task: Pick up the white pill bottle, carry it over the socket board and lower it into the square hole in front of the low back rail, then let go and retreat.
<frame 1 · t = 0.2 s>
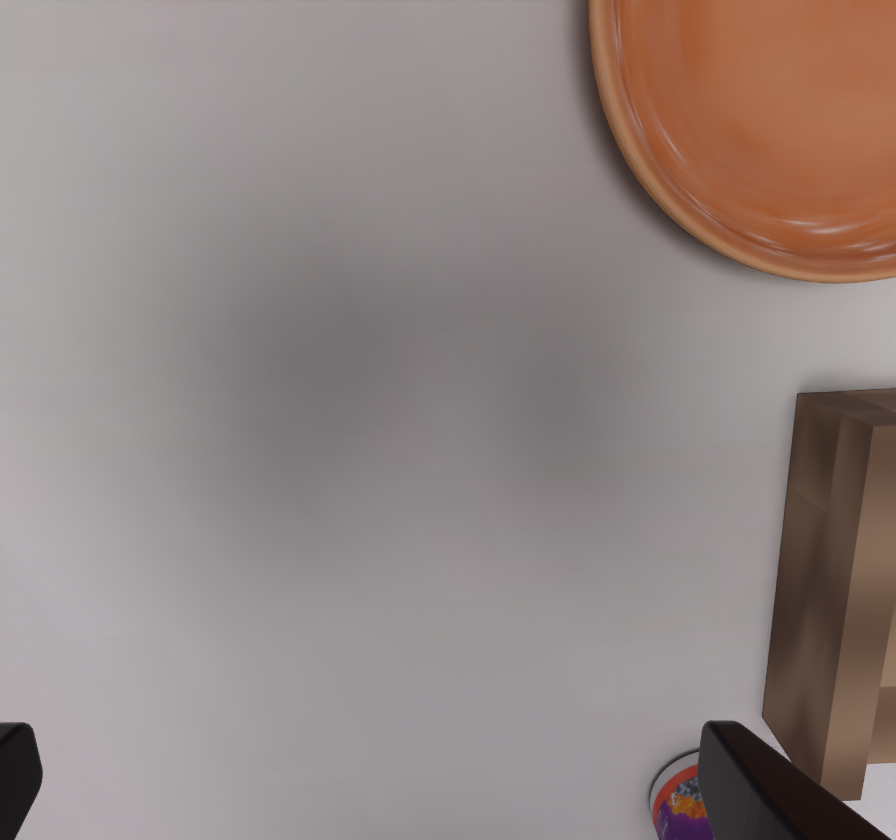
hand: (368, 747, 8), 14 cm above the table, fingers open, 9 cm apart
saucer: (830, 10, 19), on the table
pill bottle: (705, 789, 27), on the table
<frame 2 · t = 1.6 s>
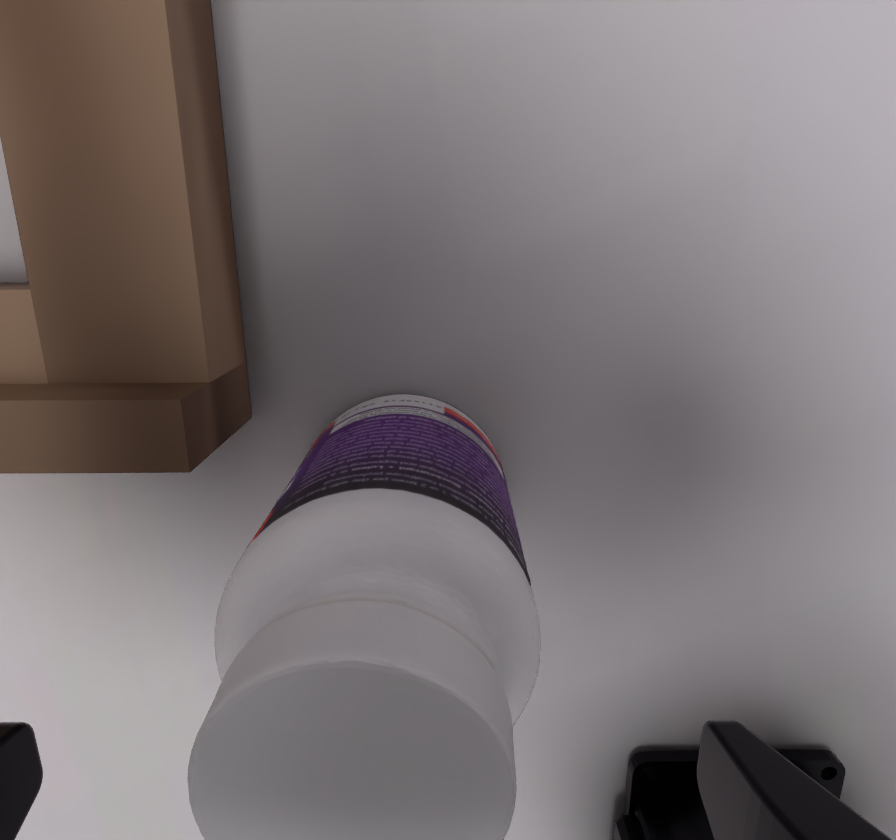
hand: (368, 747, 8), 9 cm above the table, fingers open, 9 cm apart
pill bottle: (405, 484, 17), on the table
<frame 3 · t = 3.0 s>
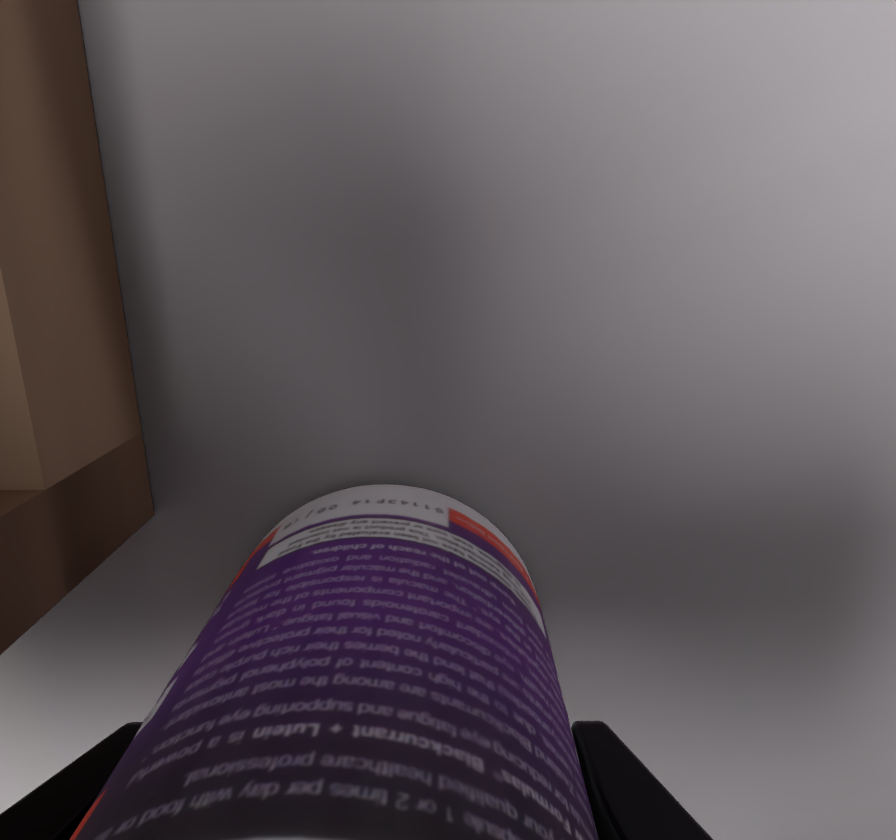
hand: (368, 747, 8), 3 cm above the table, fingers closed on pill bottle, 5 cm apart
pill bottle: (390, 608, 11), on the table, touching gripper
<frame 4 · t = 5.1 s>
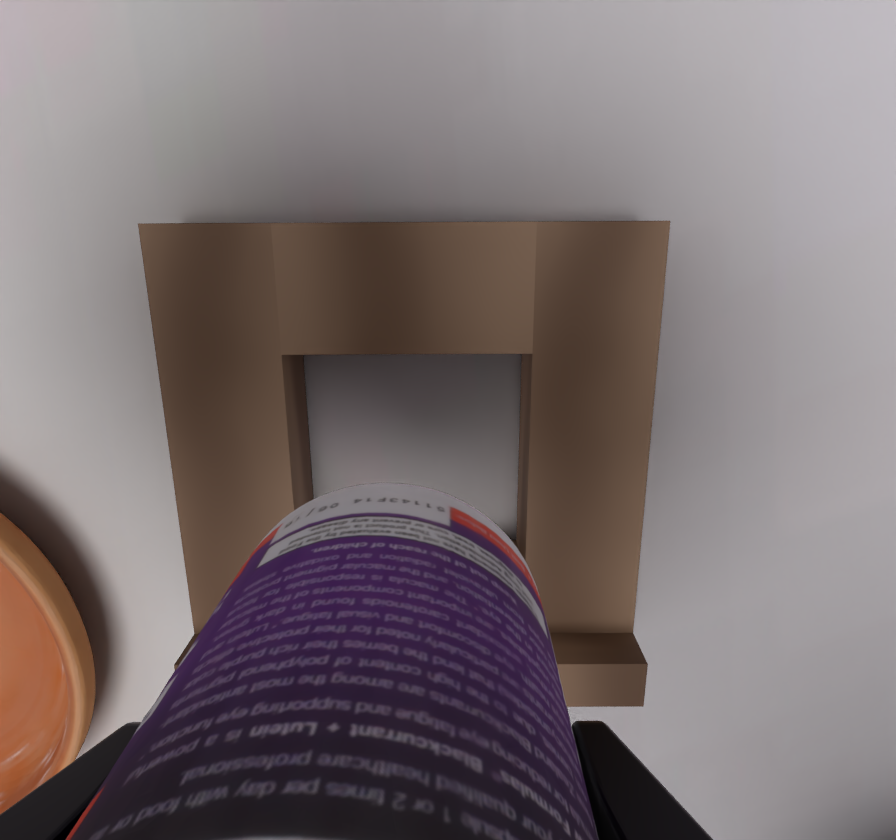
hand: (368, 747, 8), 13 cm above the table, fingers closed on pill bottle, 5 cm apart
pill bottle: (392, 607, 11), point 9 cm above the table, touching gripper
socket: (414, 445, 20), on the table
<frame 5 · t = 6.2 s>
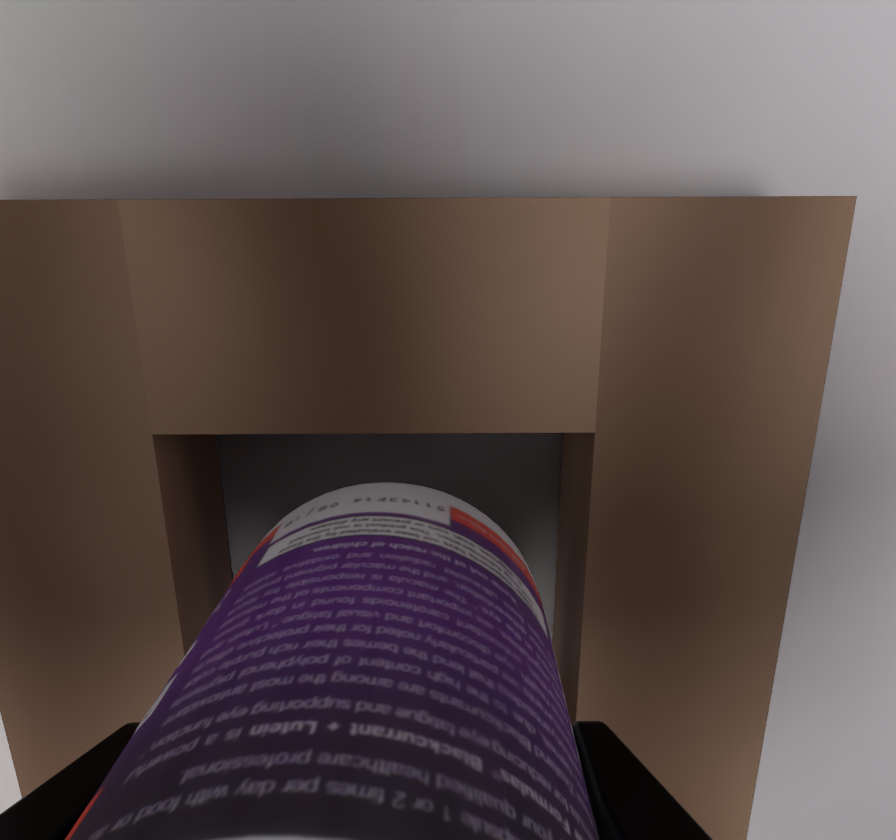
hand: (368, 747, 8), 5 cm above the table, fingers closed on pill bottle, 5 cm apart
pill bottle: (392, 607, 11), point 2 cm above the table, touching gripper
socket: (393, 554, 13), on the table
when the fingers open (4 cm above the table, at t = 7.2 s): pill bottle stays where it is, resting in socket.
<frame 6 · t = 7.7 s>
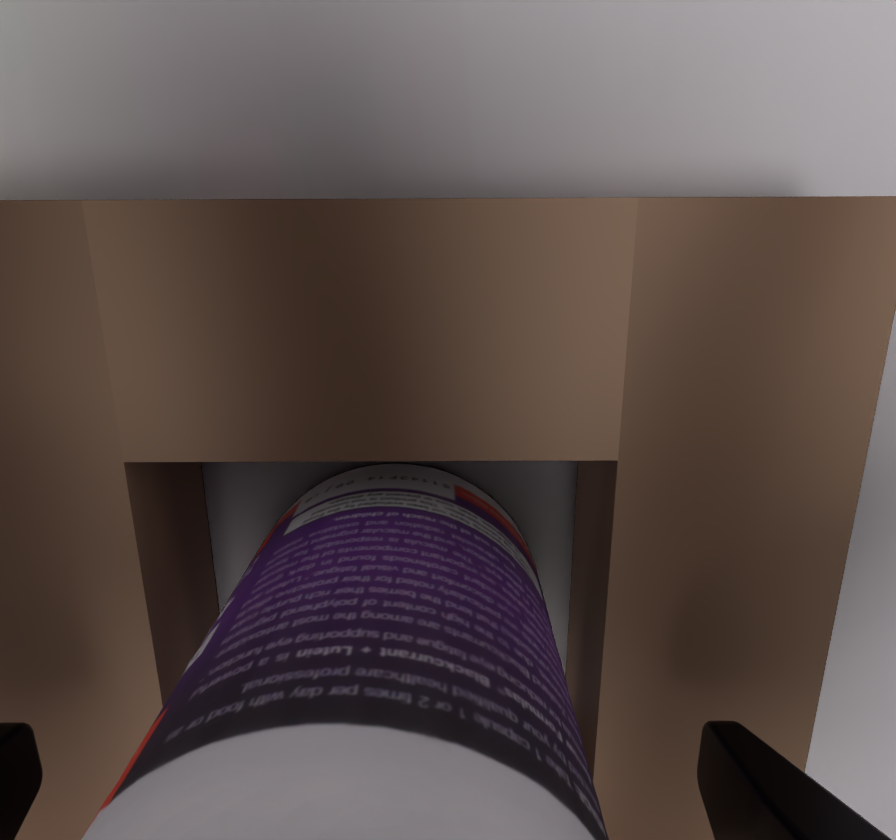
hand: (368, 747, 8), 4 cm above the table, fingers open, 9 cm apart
pill bottle: (399, 580, 12), resting in socket
socket: (393, 585, 12), on the table
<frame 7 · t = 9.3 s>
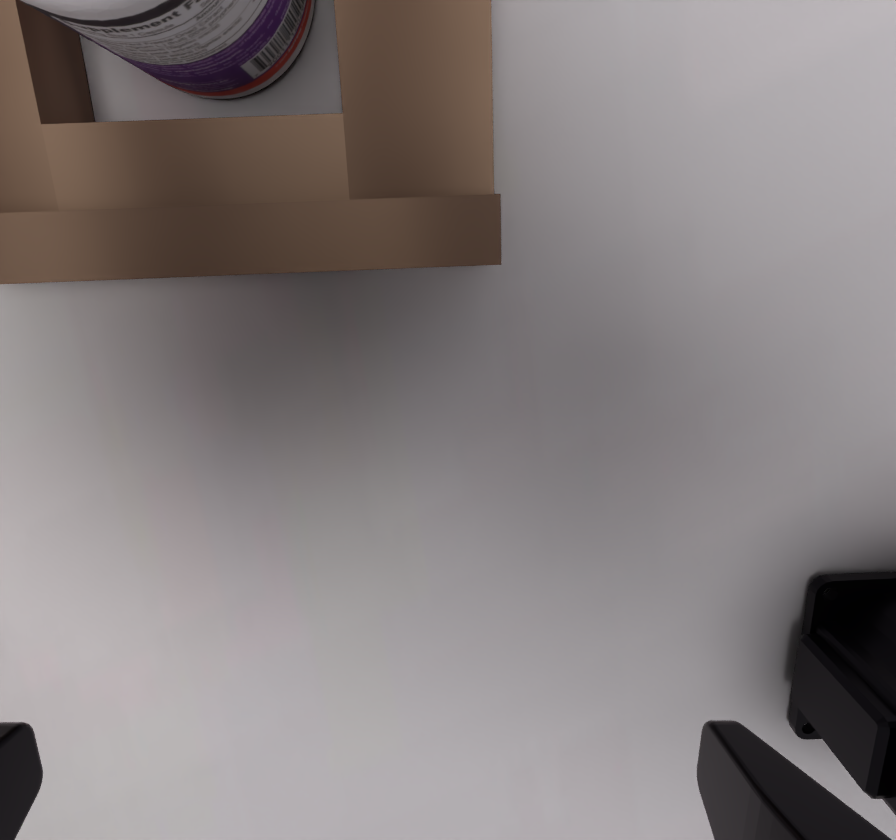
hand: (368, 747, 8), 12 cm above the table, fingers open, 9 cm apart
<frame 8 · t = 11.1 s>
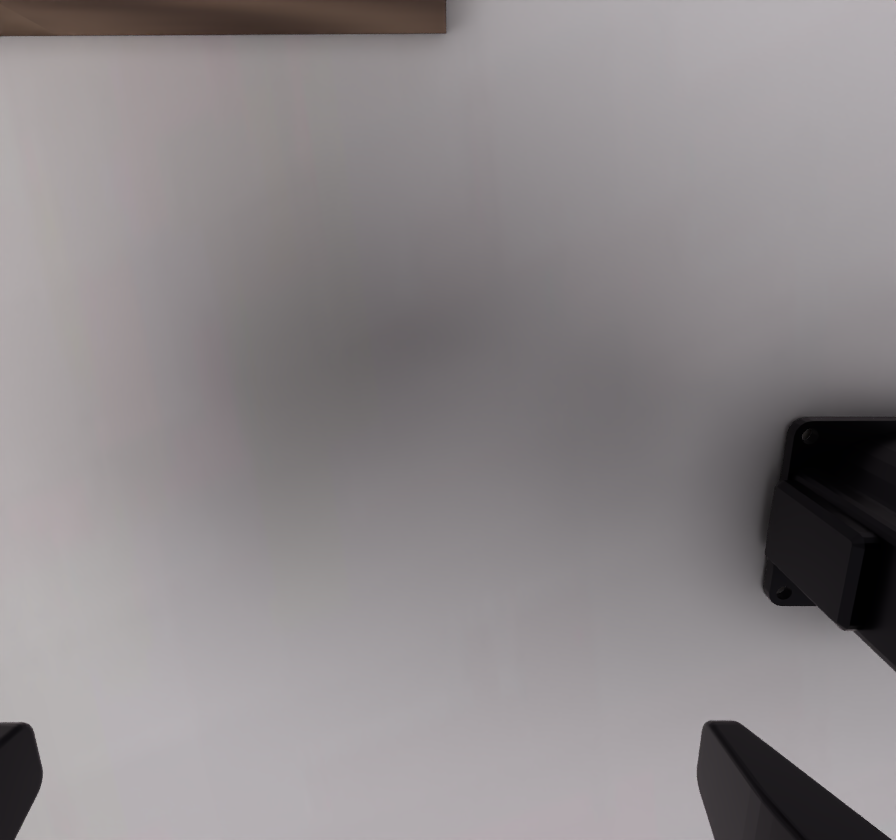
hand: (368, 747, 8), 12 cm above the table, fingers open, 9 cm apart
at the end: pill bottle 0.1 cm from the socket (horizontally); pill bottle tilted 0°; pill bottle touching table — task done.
